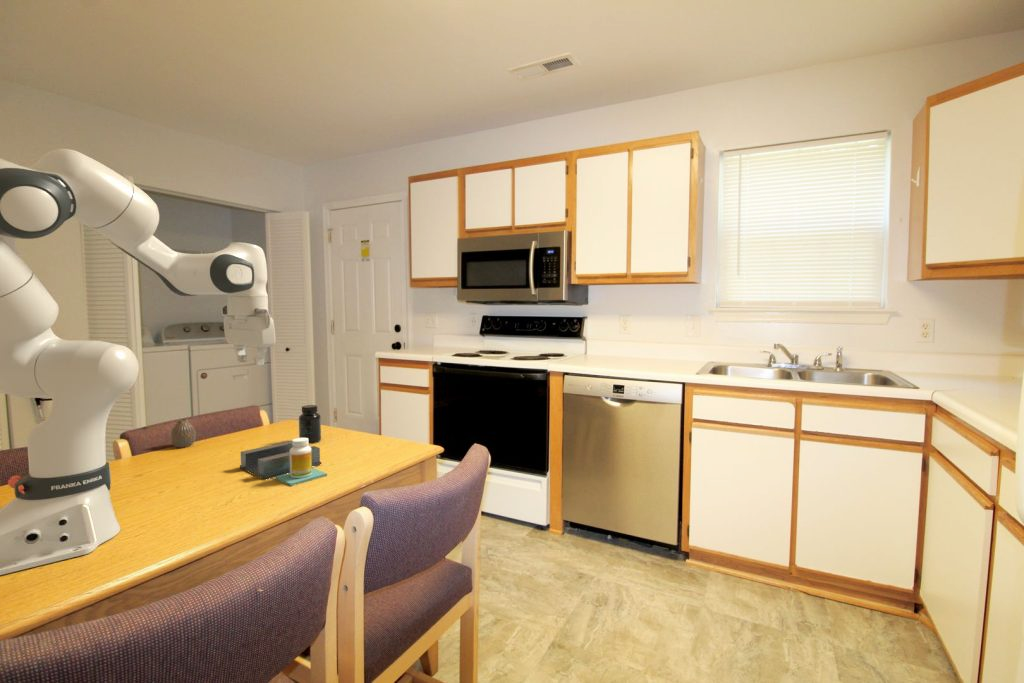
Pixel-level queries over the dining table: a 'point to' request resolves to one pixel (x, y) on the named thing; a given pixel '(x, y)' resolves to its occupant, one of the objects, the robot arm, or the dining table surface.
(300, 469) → the supplement bottle
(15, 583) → the dining table surface
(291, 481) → the teal mat
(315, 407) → the supplement bottle
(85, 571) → the dining table surface
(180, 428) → the vase
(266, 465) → the slot housing
